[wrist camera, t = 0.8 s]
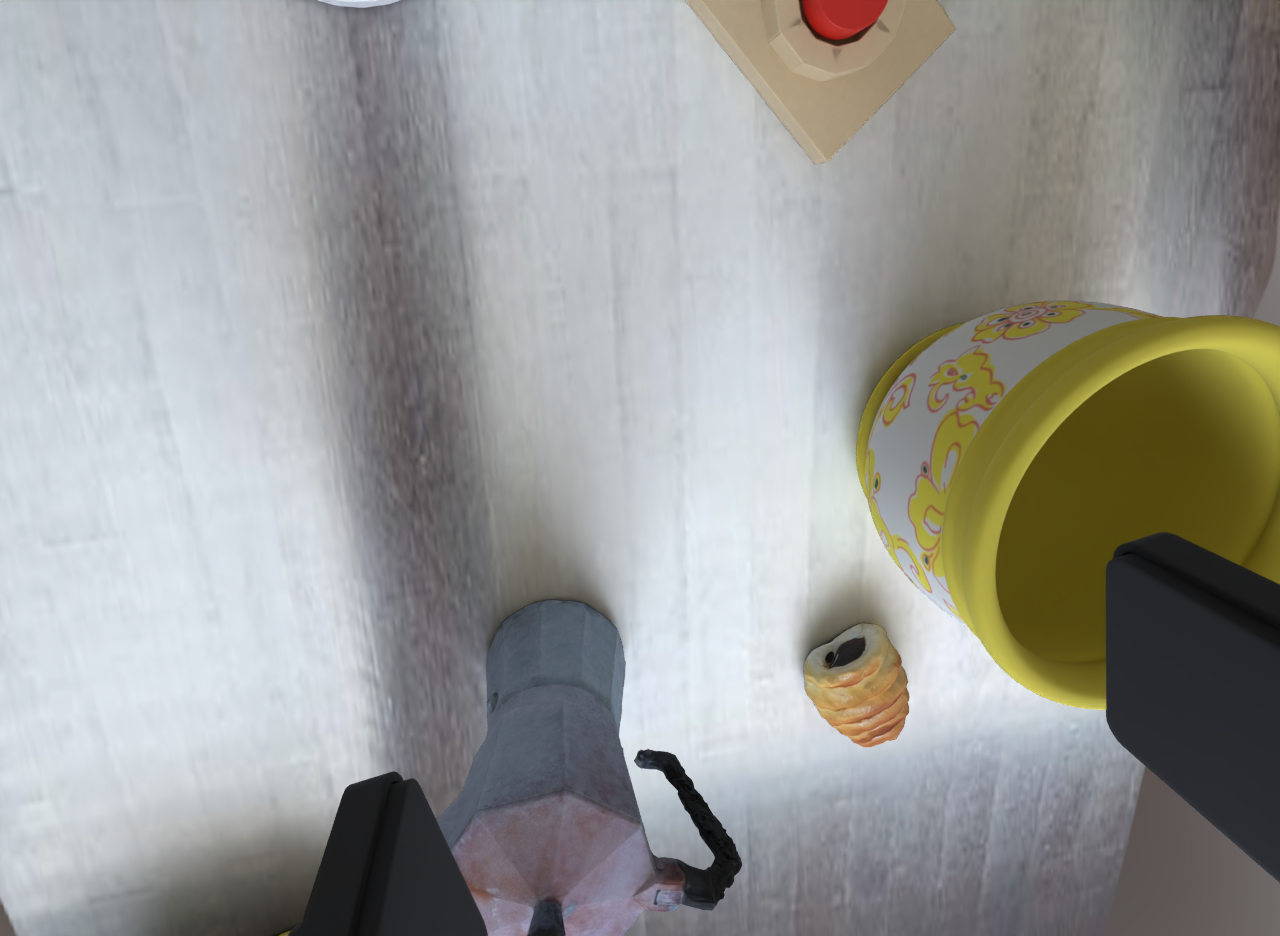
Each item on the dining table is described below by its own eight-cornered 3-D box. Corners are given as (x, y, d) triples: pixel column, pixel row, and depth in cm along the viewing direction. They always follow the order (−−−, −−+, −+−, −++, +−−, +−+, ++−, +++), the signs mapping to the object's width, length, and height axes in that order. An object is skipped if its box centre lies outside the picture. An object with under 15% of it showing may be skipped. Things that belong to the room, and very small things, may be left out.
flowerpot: (958, 601, 49) (1154, 769, 34) (762, 475, 44) (888, 606, 28) (1134, 388, 46) (1440, 467, 30) (945, 224, 40) (1200, 219, 25)
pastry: (916, 705, 51) (944, 740, 48) (835, 747, 52) (857, 786, 48) (872, 610, 48) (899, 640, 45) (786, 656, 48) (806, 690, 45)
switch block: (678, -7, 35) (694, -32, 31) (811, -154, 34) (841, -196, 30) (814, 165, 38) (841, 158, 35) (938, 37, 37) (977, 18, 34)
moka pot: (442, 585, 43) (374, 858, 24) (685, 592, 46) (795, 842, 27) (438, 716, 46) (374, 1050, 27) (667, 715, 48) (755, 1019, 30)
